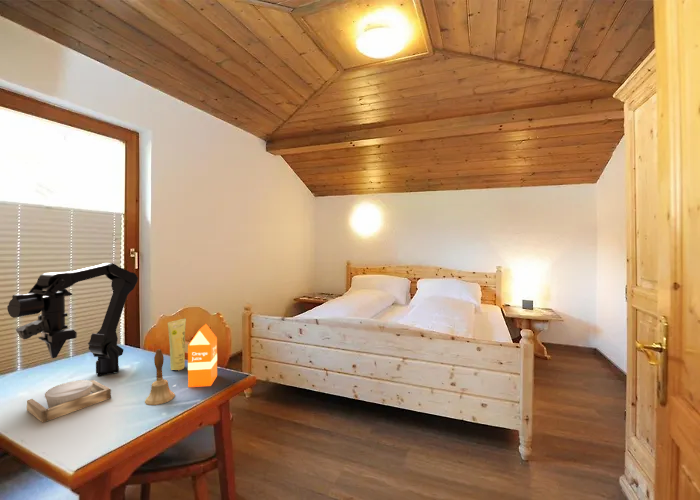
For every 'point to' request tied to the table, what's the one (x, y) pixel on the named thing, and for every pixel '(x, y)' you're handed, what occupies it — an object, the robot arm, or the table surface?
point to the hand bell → (159, 384)
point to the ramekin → (68, 392)
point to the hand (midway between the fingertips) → (54, 357)
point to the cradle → (69, 404)
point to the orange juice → (202, 358)
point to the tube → (177, 343)
